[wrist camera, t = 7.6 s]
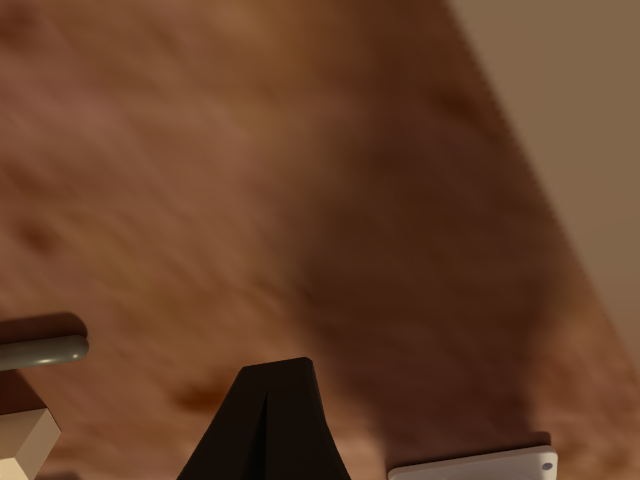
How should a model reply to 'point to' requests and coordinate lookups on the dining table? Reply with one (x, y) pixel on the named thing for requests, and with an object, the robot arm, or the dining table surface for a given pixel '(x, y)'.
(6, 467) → the cord comb
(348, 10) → the dining table surface
